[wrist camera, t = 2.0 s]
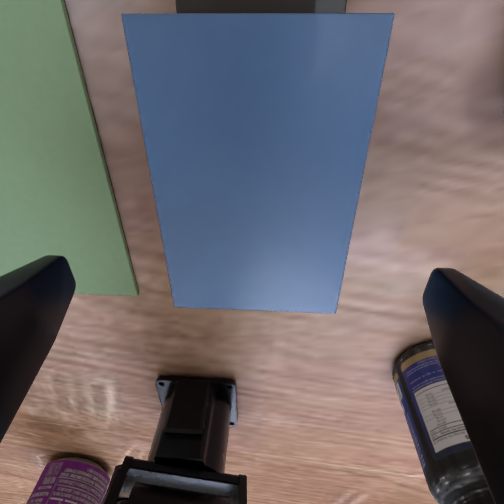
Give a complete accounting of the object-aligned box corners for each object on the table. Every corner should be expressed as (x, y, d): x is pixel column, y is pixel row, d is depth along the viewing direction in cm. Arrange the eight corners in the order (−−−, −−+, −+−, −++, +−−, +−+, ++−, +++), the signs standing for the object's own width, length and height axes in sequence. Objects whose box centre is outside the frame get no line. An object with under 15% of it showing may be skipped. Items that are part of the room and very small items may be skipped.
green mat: (139, 293, 23) (137, 296, 22) (-33, 286, 23) (-37, 289, 23) (62, -8, 13) (58, -9, 13) (-219, -7, 14) (-228, -8, 14)
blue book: (326, 268, 17) (335, 313, 14) (189, 263, 17) (174, 307, 15) (366, 13, 11) (395, 13, 8) (156, 14, 11) (120, 13, 9)
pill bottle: (453, 393, 27) (544, 584, 18) (378, 383, 27) (431, 571, 18) (495, 342, 23) (634, 547, 14) (408, 331, 23) (494, 531, 14)
